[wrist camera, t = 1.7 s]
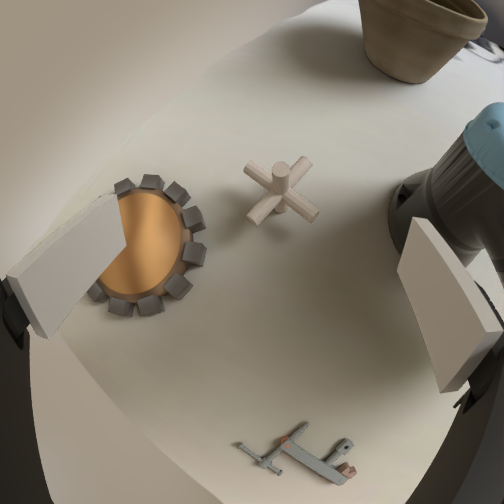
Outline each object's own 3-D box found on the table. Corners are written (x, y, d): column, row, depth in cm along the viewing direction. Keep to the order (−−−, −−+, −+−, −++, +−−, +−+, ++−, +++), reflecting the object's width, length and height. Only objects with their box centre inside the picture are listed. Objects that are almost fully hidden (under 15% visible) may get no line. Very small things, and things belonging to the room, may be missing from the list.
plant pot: (342, 20, 47) (351, -53, 26) (438, 50, 44) (464, -13, 23) (336, 79, 42) (352, -23, 21) (457, 120, 39) (508, 44, 18)
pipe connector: (227, 211, 38) (210, 176, 28) (275, 160, 39) (273, 116, 29) (285, 259, 36) (288, 237, 26) (333, 203, 37) (349, 165, 27)
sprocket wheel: (185, 162, 40) (180, 154, 38) (226, 289, 36) (222, 287, 33) (79, 212, 40) (71, 207, 38) (100, 332, 36) (90, 332, 33)
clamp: (373, 458, 27) (319, 504, 26) (369, 451, 29) (317, 497, 28) (289, 398, 30) (234, 450, 29) (288, 394, 32) (236, 444, 31)
